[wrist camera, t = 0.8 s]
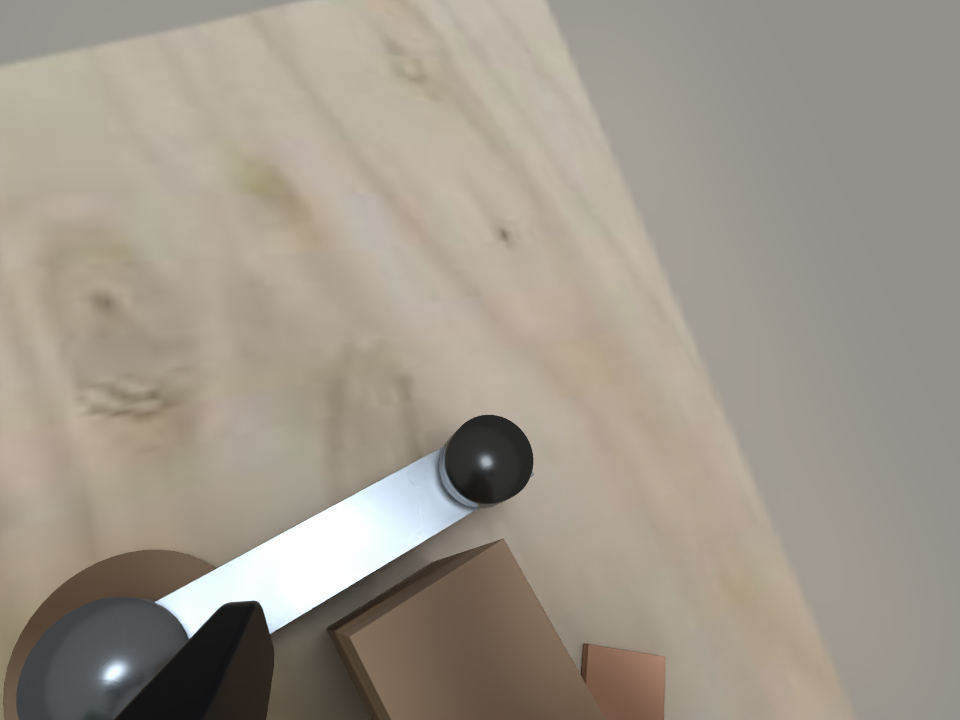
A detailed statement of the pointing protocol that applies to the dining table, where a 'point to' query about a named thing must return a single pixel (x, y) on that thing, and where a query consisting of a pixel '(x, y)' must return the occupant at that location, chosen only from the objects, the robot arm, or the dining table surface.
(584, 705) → the block
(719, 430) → the dining table surface
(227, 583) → the lever
